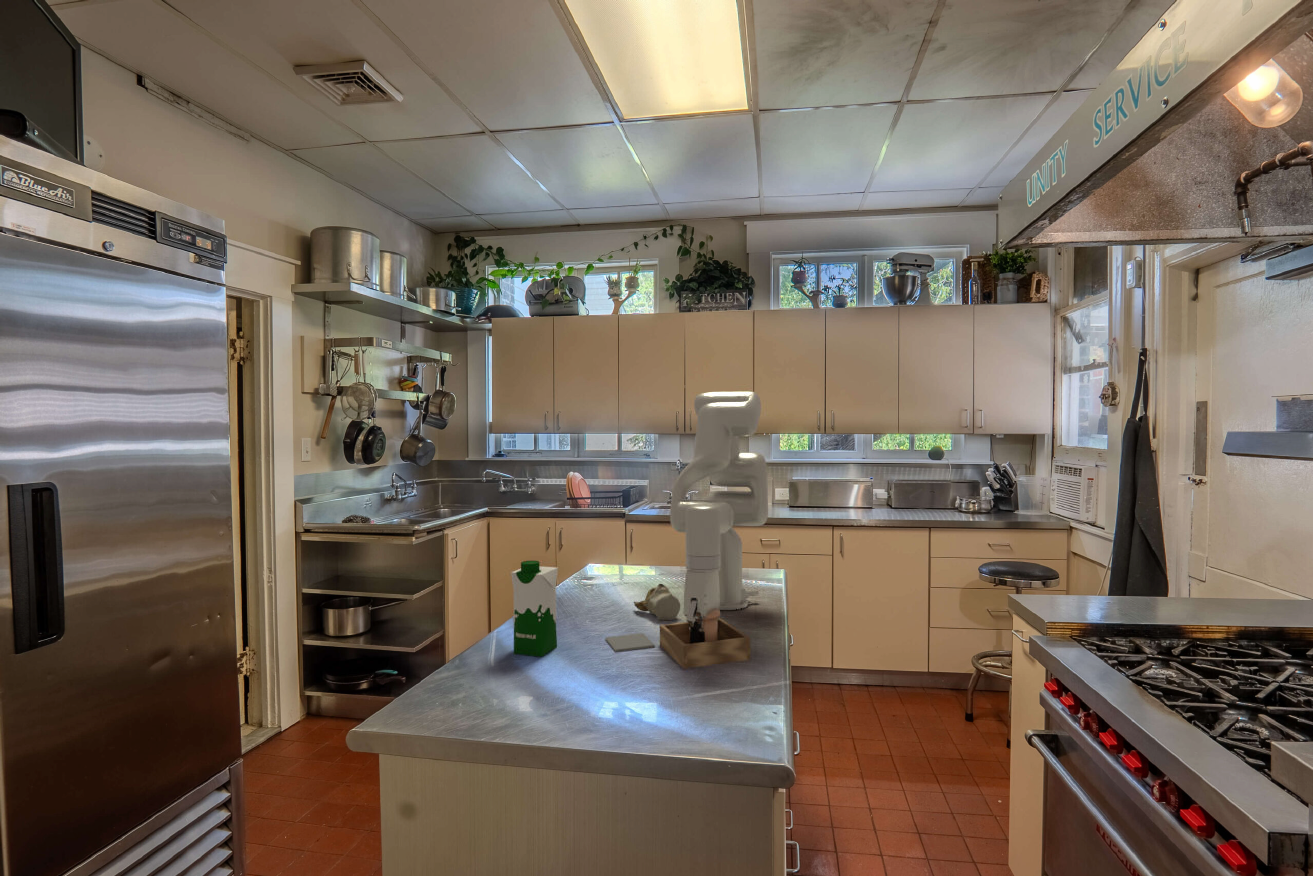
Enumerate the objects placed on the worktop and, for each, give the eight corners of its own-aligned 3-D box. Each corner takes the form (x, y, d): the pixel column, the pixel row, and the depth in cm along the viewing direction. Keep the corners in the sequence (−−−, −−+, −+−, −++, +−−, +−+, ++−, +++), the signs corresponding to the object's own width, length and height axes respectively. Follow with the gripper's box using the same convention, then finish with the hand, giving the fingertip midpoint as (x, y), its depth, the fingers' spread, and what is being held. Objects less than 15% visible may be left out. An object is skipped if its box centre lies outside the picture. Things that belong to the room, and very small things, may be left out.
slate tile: (642, 637, 153) (642, 633, 153) (654, 649, 144) (654, 645, 144) (605, 641, 150) (605, 637, 150) (615, 654, 141) (615, 649, 141)
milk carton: (507, 654, 142) (506, 563, 141) (528, 642, 150) (528, 555, 150) (543, 659, 139) (542, 565, 138) (563, 645, 147) (562, 557, 147)
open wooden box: (721, 640, 150) (721, 618, 150) (750, 661, 136) (750, 638, 136) (659, 647, 146) (659, 625, 146) (683, 670, 131) (683, 646, 131)
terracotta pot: (712, 645, 145) (712, 604, 145) (725, 655, 139) (725, 613, 138) (682, 648, 143) (681, 607, 143) (694, 659, 136) (694, 616, 136)
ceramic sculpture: (651, 590, 162) (631, 580, 176) (652, 625, 162) (631, 613, 176) (690, 586, 166) (667, 577, 180) (690, 620, 166) (667, 609, 180)
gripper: (702, 553, 150) (702, 631, 150) (670, 568, 135) (670, 655, 135) (733, 556, 147) (733, 636, 147) (703, 571, 131) (704, 660, 131)
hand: (703, 644), depth 141 cm, fingers closed on terracotta pot, 6 cm apart
